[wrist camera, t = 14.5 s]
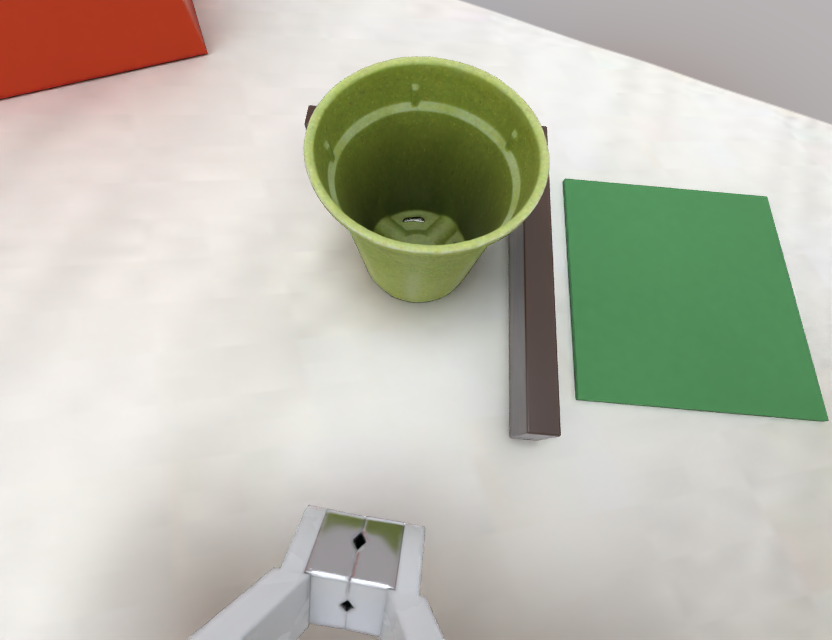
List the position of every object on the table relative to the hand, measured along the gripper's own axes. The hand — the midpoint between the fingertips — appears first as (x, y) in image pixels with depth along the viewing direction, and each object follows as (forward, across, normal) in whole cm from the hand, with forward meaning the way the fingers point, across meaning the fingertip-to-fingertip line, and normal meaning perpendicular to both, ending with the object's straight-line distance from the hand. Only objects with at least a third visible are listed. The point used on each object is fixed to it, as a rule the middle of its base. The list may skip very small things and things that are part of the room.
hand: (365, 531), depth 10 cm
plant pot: (+16, +1, -3) cm, 16 cm away
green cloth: (+16, -15, -3) cm, 22 cm away
